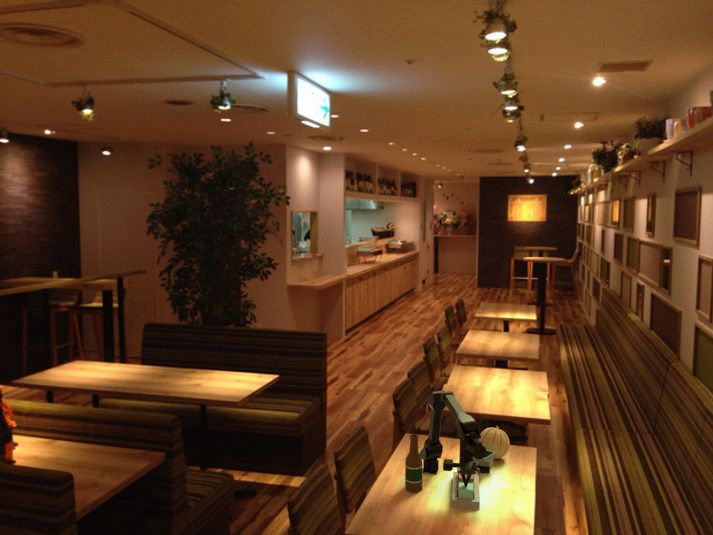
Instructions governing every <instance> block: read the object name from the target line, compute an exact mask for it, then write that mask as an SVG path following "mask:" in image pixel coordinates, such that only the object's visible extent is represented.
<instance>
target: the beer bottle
mask: <svg viewBox="0 0 713 535" xmlns="http://www.w3.org/2000/svg"><path fill="white" fill-rule="evenodd" d="M409 439H410V443H409V450H408V451H409V452H408V453H407V455H406V457H405V463H404V465H405V466H404V468H405V469H404V470H405V471H404V472H405V474H404V475H405V477H404V480H405V481H404V484H405V485H404V487H405V491H407V492H409V493H411V494H413V493H414V494H418V493H420V492H422V490H423V459H422V458H421V456H420V453H419V452H420V451H419V443H418V442H419V440H418V439H419V435H418V434H416V433H414V434H413V433H412V434H410V435H409Z"/></svg>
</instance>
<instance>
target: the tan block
mask: <svg viewBox="0 0 713 535" xmlns="http://www.w3.org/2000/svg"><path fill="white" fill-rule="evenodd" d="M465 477H466V478H467V475H465ZM458 481H459V482H462V483H464V482H463V479H462V476H461V475H460V474H459V480H458ZM473 482H474V481H473V475H472V476H471V478H470V480H469V482H468V483H473Z"/></svg>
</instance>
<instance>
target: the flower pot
mask: <svg viewBox="0 0 713 535" xmlns="http://www.w3.org/2000/svg"><path fill="white" fill-rule="evenodd" d="M486 451H487V452H486V455H485V457H484V458H483V459H480V460H478V459H476V458H475V457H474V462H477V464H480V461H482V462H489V463H490V469H491V468H492V467H493V464H494V460H495V459H494V455H495V453H494V452H491V451H488V450H486ZM475 473H477V474H479V475H480V474H481V475H483V474H482V473H481V472H480V469H477V471H475Z"/></svg>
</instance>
